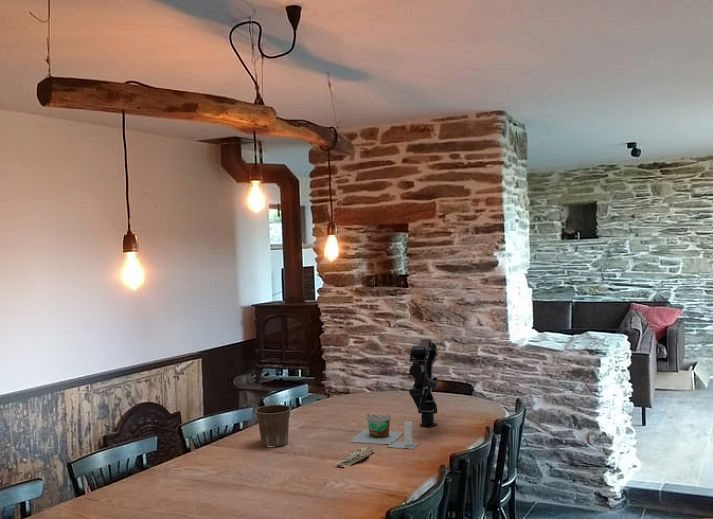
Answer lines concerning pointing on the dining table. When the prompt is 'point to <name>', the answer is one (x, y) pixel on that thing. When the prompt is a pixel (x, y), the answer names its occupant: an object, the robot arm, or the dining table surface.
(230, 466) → the dining table surface
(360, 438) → the pull board
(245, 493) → the dining table surface
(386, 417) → the food container
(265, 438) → the plant pot
